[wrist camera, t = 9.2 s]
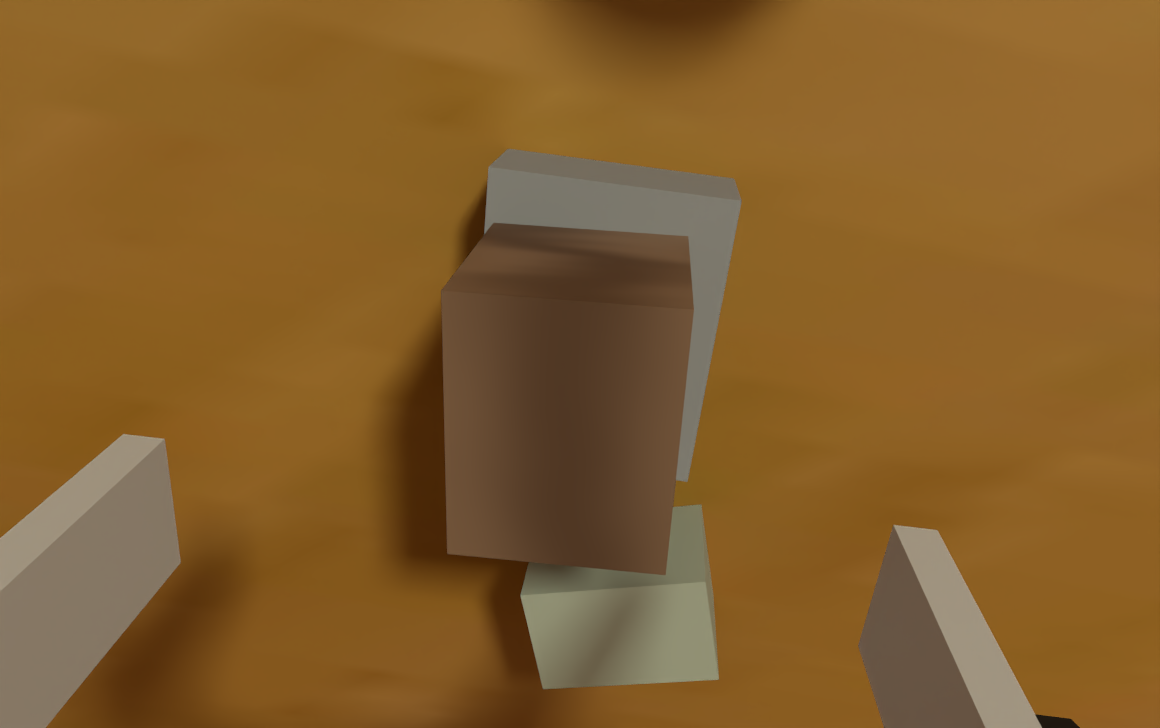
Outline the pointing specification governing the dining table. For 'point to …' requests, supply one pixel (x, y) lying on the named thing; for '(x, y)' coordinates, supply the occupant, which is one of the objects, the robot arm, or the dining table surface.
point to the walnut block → (565, 395)
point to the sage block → (626, 617)
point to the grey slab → (632, 204)
